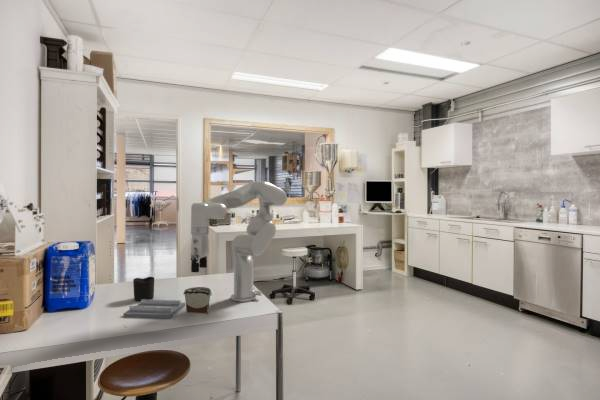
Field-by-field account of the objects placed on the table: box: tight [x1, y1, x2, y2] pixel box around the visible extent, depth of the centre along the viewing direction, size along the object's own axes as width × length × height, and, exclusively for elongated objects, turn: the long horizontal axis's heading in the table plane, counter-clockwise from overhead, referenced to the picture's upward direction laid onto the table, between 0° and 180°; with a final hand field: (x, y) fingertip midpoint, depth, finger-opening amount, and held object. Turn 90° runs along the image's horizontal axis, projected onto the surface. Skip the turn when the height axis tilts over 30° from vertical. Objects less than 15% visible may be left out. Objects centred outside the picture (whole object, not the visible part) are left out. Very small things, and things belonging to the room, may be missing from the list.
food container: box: [183, 286, 213, 315], centre depth 152 cm, size 12×6×10 cm, turn 84°
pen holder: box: [132, 276, 155, 303], centre depth 168 cm, size 9×9×10 cm
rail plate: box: [123, 298, 186, 319], centre depth 151 cm, size 20×16×4 cm
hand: (199, 269), depth 151 cm, fingers open, 9 cm apart
